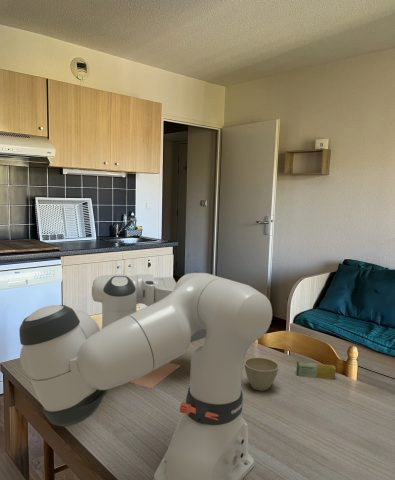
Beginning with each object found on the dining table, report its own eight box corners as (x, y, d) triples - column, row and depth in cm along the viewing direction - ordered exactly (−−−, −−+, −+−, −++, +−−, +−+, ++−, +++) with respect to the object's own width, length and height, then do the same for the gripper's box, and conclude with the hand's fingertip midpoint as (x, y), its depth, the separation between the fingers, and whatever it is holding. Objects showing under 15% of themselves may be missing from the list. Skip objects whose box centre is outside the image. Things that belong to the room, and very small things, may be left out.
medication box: (296, 376, 126) (297, 364, 125) (295, 372, 128) (296, 361, 128) (335, 380, 124) (336, 368, 123) (333, 376, 127) (334, 364, 126)
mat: (151, 389, 113) (151, 388, 113) (101, 375, 121) (101, 373, 121) (180, 366, 129) (181, 365, 129) (135, 355, 137) (135, 354, 137)
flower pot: (277, 397, 112) (278, 373, 111) (241, 392, 114) (243, 368, 113) (277, 381, 121) (278, 359, 121) (244, 377, 123) (245, 355, 123)
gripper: (145, 291, 132) (186, 291, 134) (148, 308, 112) (196, 307, 114) (146, 272, 131) (187, 272, 133) (148, 286, 111) (196, 286, 113)
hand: (191, 289), depth 124 cm, fingers closed on cover, 3 cm apart
